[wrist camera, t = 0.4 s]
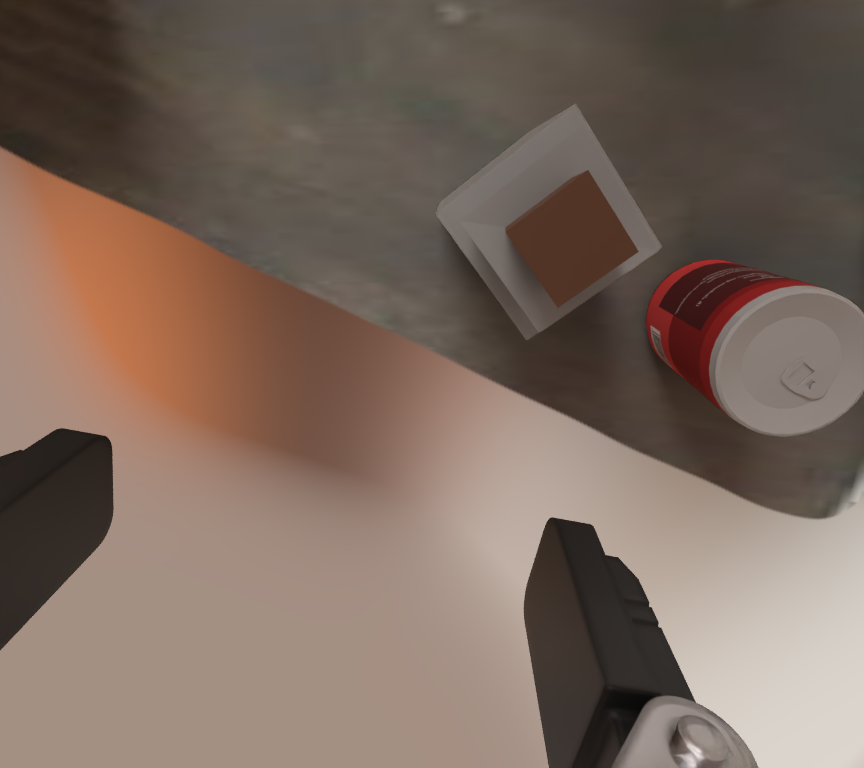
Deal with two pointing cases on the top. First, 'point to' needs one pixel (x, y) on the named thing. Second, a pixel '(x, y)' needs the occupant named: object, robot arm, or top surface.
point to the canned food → (760, 345)
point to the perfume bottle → (548, 223)
